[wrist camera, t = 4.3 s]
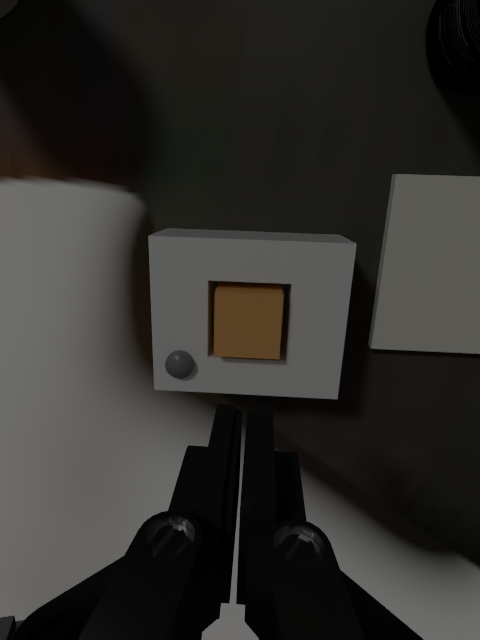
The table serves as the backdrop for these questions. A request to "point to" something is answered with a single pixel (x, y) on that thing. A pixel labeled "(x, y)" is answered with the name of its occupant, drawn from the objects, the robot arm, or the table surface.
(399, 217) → the pad
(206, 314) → the box
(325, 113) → the table surface
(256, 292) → the button
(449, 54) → the supplement bottle
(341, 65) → the table surface
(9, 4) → the coffee cup
